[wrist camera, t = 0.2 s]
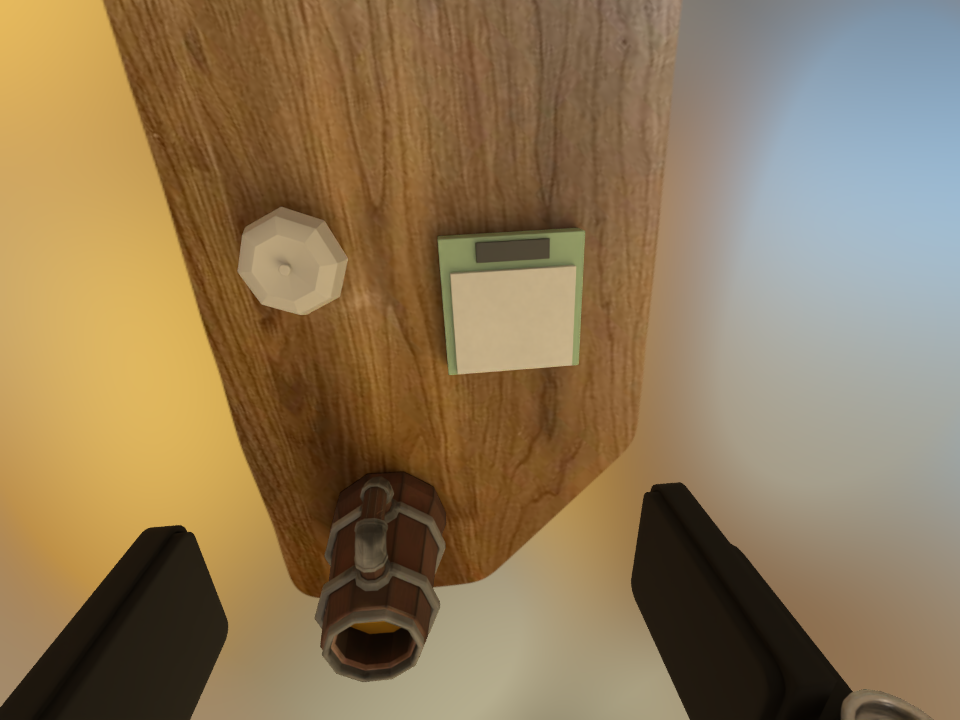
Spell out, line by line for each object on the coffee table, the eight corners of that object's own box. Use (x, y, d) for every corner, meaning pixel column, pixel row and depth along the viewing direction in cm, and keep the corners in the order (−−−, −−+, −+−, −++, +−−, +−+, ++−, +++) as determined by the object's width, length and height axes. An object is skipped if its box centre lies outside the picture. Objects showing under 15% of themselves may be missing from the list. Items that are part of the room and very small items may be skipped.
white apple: (365, 296, 38) (352, 319, 32) (273, 304, 38) (242, 329, 32) (348, 198, 35) (329, 204, 29) (247, 206, 35) (207, 214, 29)
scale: (437, 235, 37) (437, 240, 34) (578, 227, 38) (587, 231, 35) (448, 366, 42) (448, 378, 39) (572, 356, 42) (580, 367, 40)
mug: (447, 550, 51) (450, 690, 37) (340, 557, 50) (303, 704, 36) (443, 435, 45) (445, 553, 31) (320, 440, 44) (267, 564, 30)
